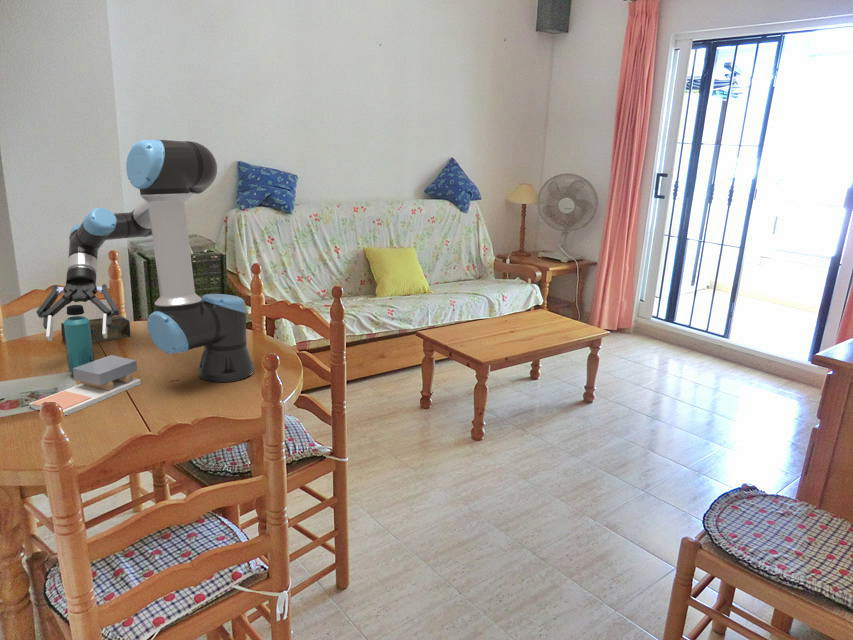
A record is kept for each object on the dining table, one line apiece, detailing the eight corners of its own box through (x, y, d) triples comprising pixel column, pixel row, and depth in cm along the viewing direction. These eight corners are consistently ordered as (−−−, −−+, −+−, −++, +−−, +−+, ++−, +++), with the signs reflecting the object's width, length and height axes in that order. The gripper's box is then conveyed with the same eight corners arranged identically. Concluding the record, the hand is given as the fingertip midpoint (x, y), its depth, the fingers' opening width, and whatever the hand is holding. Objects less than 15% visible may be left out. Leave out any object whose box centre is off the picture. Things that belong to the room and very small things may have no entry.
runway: (141, 383, 167) (140, 371, 166) (62, 417, 146) (60, 403, 145) (110, 376, 171) (109, 364, 170) (29, 408, 149) (27, 394, 148)
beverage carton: (132, 337, 205) (130, 319, 203) (67, 348, 192) (65, 328, 190) (124, 331, 210) (122, 313, 208) (61, 341, 197) (58, 322, 196)
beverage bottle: (94, 378, 169) (87, 308, 164) (67, 380, 167) (59, 309, 162) (97, 369, 175) (90, 302, 170) (70, 371, 173) (63, 303, 167)
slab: (137, 370, 167) (136, 360, 166) (100, 385, 156) (99, 374, 155) (111, 365, 170) (111, 355, 169) (73, 379, 159) (72, 368, 158)
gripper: (130, 278, 186) (128, 341, 176) (35, 280, 177) (28, 345, 168) (127, 265, 179) (125, 329, 170) (28, 265, 171) (20, 333, 162)
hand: (77, 337), depth 169 cm, fingers open, 13 cm apart
